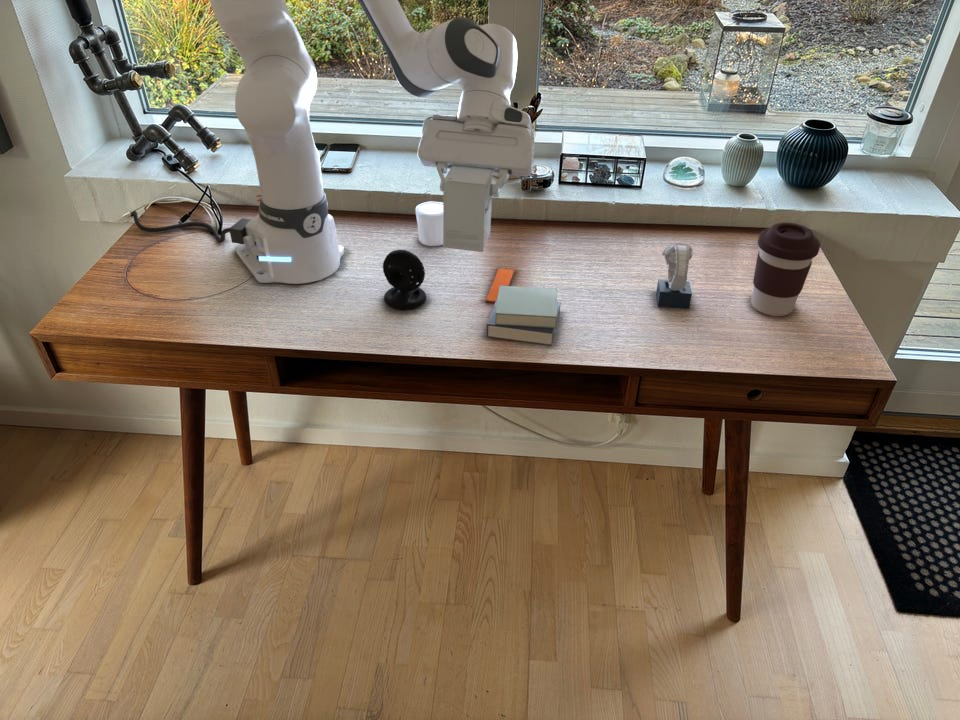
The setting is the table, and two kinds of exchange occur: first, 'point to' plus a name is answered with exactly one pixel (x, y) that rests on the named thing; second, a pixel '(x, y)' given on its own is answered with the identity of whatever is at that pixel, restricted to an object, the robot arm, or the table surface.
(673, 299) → the watch
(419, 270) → the webcam
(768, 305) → the coffee cup
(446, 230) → the white packaging box
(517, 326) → the book stack
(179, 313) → the table surface
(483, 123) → the robot arm
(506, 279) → the orange rectangular block
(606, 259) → the table surface
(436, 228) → the white cup
